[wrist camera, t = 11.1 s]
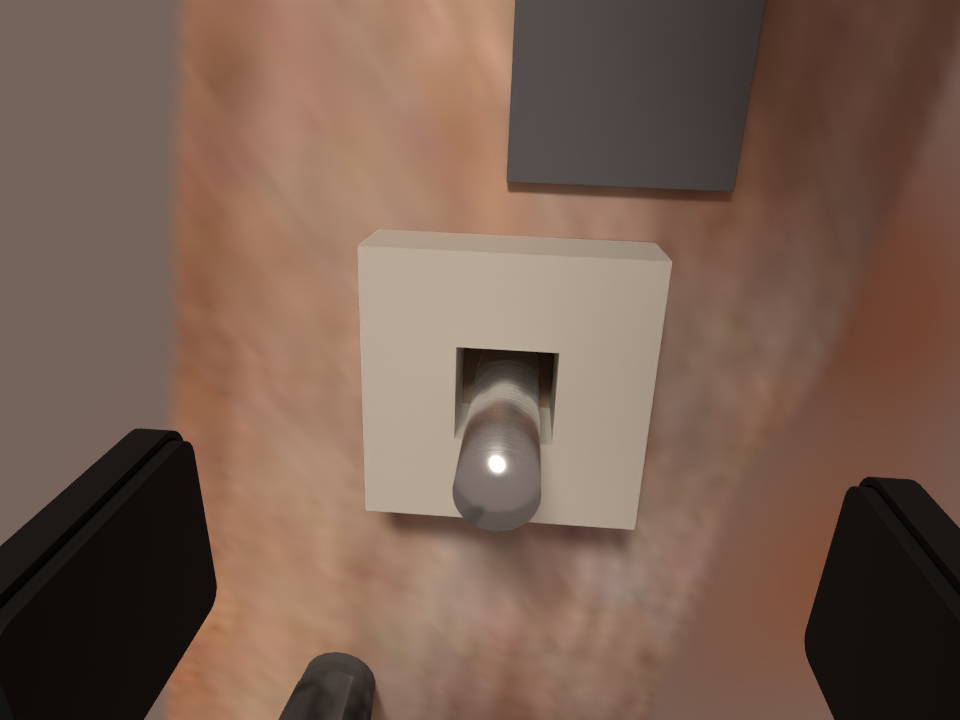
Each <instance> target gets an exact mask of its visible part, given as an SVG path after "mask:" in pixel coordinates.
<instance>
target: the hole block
mask: <svg viewBox="0 0 960 720" xmlns="http://www.w3.org/2000/svg"><path fill="white" fill-rule="evenodd" d="M671 267H672V261H671V260H670V259H669V257H668V256H667V255H666V254H665V253H664V252H663V251H662V249H661V248H660V247H659V246H658V245H657V244H656V243H653V242H632V241H611V240H591V239H570V238H550V237H529V236H509V235H488V234H468V233H447V232H426V231H406V230H385V229H378V230H376V231H375V232H374V233H373V234H372V235H370V236H369V237H368V238H367V239H365V240H364V241H363V242H362V243H360V244H359V245H358V277H359V309H360V342H361V374H362V406H363V438H364V470H365V503H366V510H367V511H381V512H395V513H408V514H422V515H436V516H450V517H463V516H462V515H461V514H460V513H459V511H458V510H457V508H456V506H455V503H454V500H453V494H452V489H453V483H454V478H455V473H456V468H457V464H458V459H459V454H460V449H461V444H462V440H463V435H464V430H465V425H466V420H467V416H468V411H469V406H470V403H463V370H464V348H480V349H497V350H514V351H531V352H548V353H554V361H553V374H552V386H551V399H550V408H540V407H539V412H540V457H541V502H540V505H539V508H538V510H537V512H536V513H535V515H534V516H533V517H532V518H531V519H530V520H529V521H528V522H533V523H546V524H560V525H574V526H588V527H601V528H615V529H629V530H635V523H636V516H637V509H638V502H639V495H640V487H641V480H642V473H643V466H644V459H645V452H646V445H647V438H648V430H649V423H650V416H651V409H652V402H653V395H654V388H655V381H656V374H657V366H658V359H659V352H660V345H661V338H662V331H663V324H664V317H665V309H666V302H667V295H668V288H669V281H670V274H671Z"/></svg>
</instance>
